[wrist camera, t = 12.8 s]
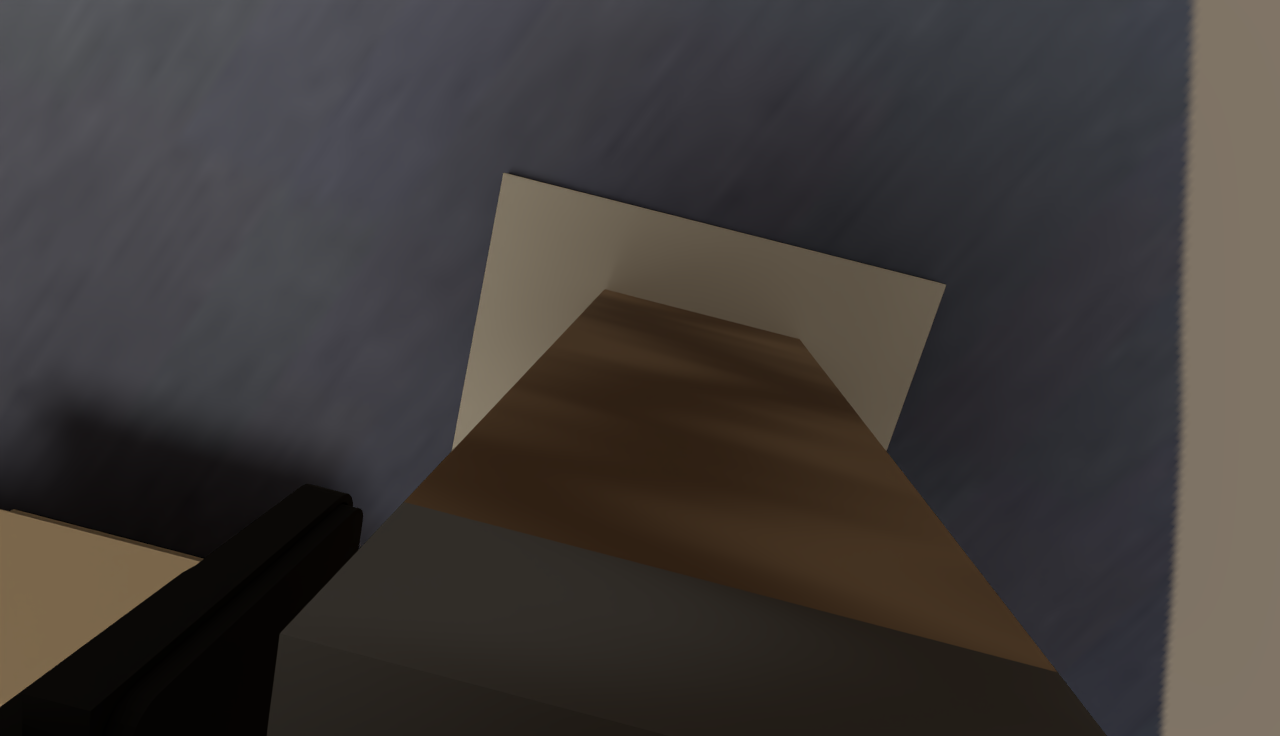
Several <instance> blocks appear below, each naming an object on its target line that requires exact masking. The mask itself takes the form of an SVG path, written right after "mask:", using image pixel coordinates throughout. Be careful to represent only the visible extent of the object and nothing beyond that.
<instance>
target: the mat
mask: <svg viewBox="0 0 1280 736" xmlns="http://www.w3.org/2000/svg"><path fill="white" fill-rule="evenodd" d="M945 287H946V285H945V284H942V283H939V282H935V281H931V280H927V279H923V278H919V277H915V276H911V275H907V274H903V273H899V272H895V271H891V270H887V269H883V268H879V267H875V266H871V265H867V264H863V263H860V262H856V261H852V260H848V259H844V258H840V257H836V256H832V255H828V254H824V253H820V252H816V251H812V250H808V249H804V248H800V247H796V246H792V245H788V244H784V243H780V242H776V241H773V240H769V239H765V238H761V237H757V236H753V235H749V234H745V233H741V232H737V231H733V230H729V229H725V228H721V227H717V226H713V225H709V224H705V223H701V222H697V221H693V220H689V219H685V218H682V217H678V216H674V215H670V214H666V213H662V212H658V211H654V210H650V209H646V208H642V207H638V206H634V205H630V204H626V203H622V202H618V201H614V200H610V199H606V198H602V197H598V196H595V195H591V194H587V193H583V192H579V191H575V190H571V189H567V188H563V187H559V186H555V185H551V184H547V183H543V182H539V181H535V180H531V179H527V178H523V177H519V176H515V175H511V174H507V173H503V178H502V183H501V189H500V194H499V200H498V205H497V210H496V216H495V221H494V226H493V232H492V237H491V243H490V248H489V253H488V259H487V264H486V270H485V275H484V280H483V286H482V291H481V297H480V302H479V307H478V313H477V318H476V324H475V329H474V334H473V340H472V345H471V350H470V356H469V361H468V367H467V372H466V377H465V383H464V388H463V394H462V399H461V404H460V410H459V415H458V421H457V426H456V431H455V437H454V442H453V447H452V450H453V449H454V448H455V447H456V446H457V445H458V444H459V443H460V442H461V441H462V440H463V439H464V438H465V437H466V436H467V435H468V433H469V432H470V431H471V430H472V429H473V428H474V427H475V426H476V425H477V424H478V423H479V422H480V421H481V420H482V419H483V418H484V416H485V415H486V414H487V413H488V412H489V411H490V410H491V409H492V408H493V407H494V406H495V405H496V404H497V403H498V402H499V401H500V400H501V398H502V397H503V396H504V395H505V394H506V393H507V392H508V391H509V390H510V389H511V388H512V387H513V386H514V385H515V384H516V383H517V382H518V380H519V379H520V378H521V377H522V376H523V375H524V374H525V373H526V372H527V371H528V370H529V369H530V368H531V367H532V366H533V365H534V363H535V362H536V361H537V360H538V359H539V358H540V357H541V356H542V355H543V354H544V353H545V352H546V351H547V350H548V349H549V348H550V347H551V345H552V344H553V343H554V342H555V341H556V340H557V339H558V338H559V337H560V336H561V335H562V334H563V333H564V332H565V331H566V330H567V329H568V327H569V326H570V325H571V324H572V323H573V322H574V321H575V320H576V319H577V318H578V317H579V316H580V315H581V314H582V313H583V312H584V310H585V309H586V308H587V307H588V306H589V305H590V304H591V303H592V302H593V301H594V300H595V299H596V298H597V297H598V296H599V295H600V294H601V292H602V291H603V290H604V289H606V290H610V291H614V292H618V293H622V294H626V295H630V296H633V297H637V298H641V299H645V300H649V301H653V302H657V303H661V304H665V305H669V306H672V307H676V308H680V309H684V310H688V311H692V312H696V313H700V314H704V315H707V316H711V317H715V318H719V319H723V320H727V321H731V322H735V323H739V324H743V325H746V326H750V327H754V328H758V329H762V330H766V331H770V332H774V333H778V334H781V335H785V336H789V337H793V338H797V339H800V340H801V342H802V343H803V344H804V346H805V347H806V348H807V349H808V351H809V352H810V353H811V355H812V356H813V357H814V358H815V360H816V361H817V362H818V364H819V365H820V366H821V368H822V369H823V370H824V371H825V373H826V374H827V375H828V377H829V378H830V379H831V380H832V382H833V383H834V384H835V386H836V387H837V388H838V389H839V391H840V392H841V393H842V395H843V396H844V397H845V399H846V400H847V401H848V402H849V404H850V405H851V406H852V408H853V409H854V410H855V411H856V413H857V414H858V415H859V417H860V418H861V419H862V420H863V422H864V423H865V424H866V426H867V427H868V428H869V429H870V431H871V432H872V433H873V435H874V436H875V437H876V439H877V440H878V441H879V442H880V444H881V445H882V446H883V448H884V449H885V450H886V451H887V449H888V446H889V443H890V440H891V437H892V435H893V432H894V429H895V426H896V424H897V421H898V418H899V415H900V412H901V410H902V407H903V404H904V401H905V398H906V396H907V393H908V390H909V387H910V385H911V382H912V379H913V376H914V373H915V371H916V368H917V365H918V362H919V360H920V357H921V354H922V351H923V348H924V346H925V343H926V340H927V337H928V335H929V332H930V329H931V326H932V323H933V321H934V318H935V315H936V312H937V310H938V307H939V304H940V301H941V298H942V296H943V293H944V290H945Z"/></svg>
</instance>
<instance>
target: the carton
mask: <svg viewBox="0 0 1280 736" xmlns="http://www.w3.org/2000/svg"><path fill="white" fill-rule="evenodd" d="M202 560H203V558H200V557H196V556H192V555H188V554H184V553H180V552H177V551H173V550H169V549H165V548H161V547H157V546H153V545H150V544H146V543H142V542H138V541H134V540H130V539H126V538H123V537H119V536H115V535H111V534H107V533H103V532H100V531H96V530H92V529H88V528H84V527H80V526H76V525H73V524H69V523H65V522H61V521H57V520H53V519H49V518H46V517H42V516H38V515H34V514H30V513H26V512H23V511H19V510H15V509H13V510H11V511H6V510H2V509H0V707H1V706H2V705H3V704H5V703H6V702H7V701H9V700H10V699H12V698H13V697H14V696H16V695H17V694H18V693H20V692H21V691H22V690H24V689H25V688H26V687H28V686H29V685H30V684H32V683H33V682H35V681H36V680H37V679H39V678H40V677H41V676H43V675H44V674H45V673H47V672H48V671H49V670H51V669H52V668H54V667H55V666H56V665H58V664H59V663H60V662H62V661H63V660H64V659H66V658H67V657H68V656H70V655H71V654H73V653H74V652H75V651H77V650H78V649H79V648H81V647H82V646H83V645H85V644H86V643H87V642H89V641H90V640H91V639H93V638H94V637H96V636H97V635H98V634H100V633H101V632H102V631H104V630H105V629H106V628H108V627H109V626H110V625H112V624H113V623H115V622H116V621H117V620H119V619H120V618H121V617H123V616H124V615H125V614H127V613H128V612H129V611H131V610H132V609H133V608H135V607H136V606H138V605H139V604H140V603H142V602H143V601H144V600H146V599H147V598H148V597H150V596H151V595H152V594H154V593H155V592H157V591H158V590H159V589H161V588H162V587H163V586H165V585H166V584H167V583H169V582H170V581H171V580H173V579H174V578H176V577H177V576H178V575H180V574H181V573H182V572H184V571H186V570H188V569H189V568H191V567H193V566H195V565H196V564H198V563H199V562H200V561H202Z"/></svg>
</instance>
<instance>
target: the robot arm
mask: <svg viewBox="0 0 1280 736" xmlns="http://www.w3.org/2000/svg"><path fill="white" fill-rule="evenodd" d="M362 521H363V513H362V510H361V509H359V508H356V507H353V502H352V497H351V496H350V495H349V494H346V493H342V492H338V491H334V490H331V489H327V488H323V487H319V486H315V485H311V484H305V485H303V486H301V487H300V488H299V489H297V490H296V491H295V492H293V493H292V494H291V495H289V496H288V497H287V498H285V499H284V500H282V501H281V502H280V503H278V504H277V505H276V506H274V507H273V508H272V509H270V510H269V511H268V512H266V513H265V514H264V515H262V516H261V517H260V518H258V519H257V520H256V521H254V522H253V523H251V524H250V525H249V526H247V527H246V528H245V529H243V530H242V531H241V532H239V533H238V534H237V535H235V536H234V537H233V538H231V539H230V540H229V541H227V542H226V543H225V544H223V545H222V546H221V547H219V548H218V549H216V550H215V551H214V552H212V553H211V554H210V555H208V556H207V557H206V558H204V559H203V560H202V561H200V562H199V563H198V564H196V565H195V566H193V567H191V568H189V569H188V570H186V571H184V572H182V573H181V574H180V575H178V576H177V577H176V578H174V579H173V580H171V581H170V582H169V583H167V584H166V585H165V586H163V587H162V588H161V589H159V590H158V591H157V592H155V593H154V594H152V595H151V596H150V597H148V598H147V599H146V600H144V601H143V602H142V603H140V604H139V605H138V606H136V607H135V608H133V609H132V610H131V611H129V612H128V613H127V614H125V615H124V616H123V617H121V618H120V619H119V620H117V621H116V622H115V623H113V624H112V625H110V626H109V627H108V628H106V629H105V630H104V631H102V632H101V633H100V634H98V635H97V636H96V637H94V638H93V639H91V640H90V641H89V642H87V643H86V644H85V645H83V646H82V647H81V648H79V649H78V650H77V651H75V652H74V653H73V654H71V655H70V656H68V657H67V658H66V659H64V660H63V661H62V662H60V663H59V664H58V665H56V666H55V667H54V668H52V669H51V670H49V671H48V672H47V673H45V674H44V675H43V676H41V677H40V678H39V679H37V680H36V681H35V682H33V683H32V684H30V685H29V686H28V687H26V688H25V689H24V690H22V691H21V692H20V693H18V694H17V695H16V696H14V697H13V698H12V699H10V700H9V701H7V702H6V703H5V704H3V705H2V706H1V707H0V736H267V729H268V721H269V713H270V705H271V698H272V690H273V682H274V674H275V667H276V659H277V651H278V643H279V636H280V633H281V632H282V631H283V630H284V629H285V627H286V626H287V625H288V624H289V623H290V622H291V621H292V620H293V619H294V618H295V617H296V616H297V615H298V614H299V613H300V612H301V610H302V609H303V608H304V607H305V606H306V605H307V604H308V603H309V602H310V601H311V600H312V599H313V598H314V597H315V596H316V595H317V594H318V592H319V591H320V590H321V589H322V588H323V587H324V586H325V585H326V584H327V583H328V582H329V581H330V580H331V579H332V578H333V577H334V576H335V574H336V573H337V572H338V571H339V570H340V569H341V568H342V567H343V566H344V565H345V564H346V563H347V562H348V561H349V560H350V559H351V557H352V556H353V555H354V554H355V553H356V552H357V551H358V547H359V541H360V534H361V528H362Z"/></svg>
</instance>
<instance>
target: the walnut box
mask: <svg viewBox="0 0 1280 736" xmlns="http://www.w3.org/2000/svg"><path fill="white" fill-rule="evenodd" d="M267 736H1107V735H1106V734H1105V733H1104V732H1103V730H1102V729H1101V728H1100V726H1099V725H1098V724H1097V723H1096V721H1095V720H1094V719H1093V717H1092V716H1091V715H1090V714H1089V712H1088V711H1087V710H1086V708H1085V707H1084V706H1083V704H1082V703H1081V702H1080V701H1079V699H1078V698H1077V697H1076V695H1075V694H1074V693H1073V692H1072V690H1071V689H1070V688H1069V686H1068V685H1067V684H1066V683H1065V681H1064V680H1063V679H1062V677H1061V676H1060V675H1059V673H1058V672H1057V671H1056V670H1055V668H1054V667H1053V666H1052V664H1051V663H1050V662H1049V661H1048V659H1047V658H1046V657H1045V655H1044V654H1043V653H1042V652H1041V650H1040V649H1039V648H1038V646H1037V645H1036V644H1035V643H1034V641H1033V640H1032V639H1031V637H1030V636H1029V635H1028V633H1027V632H1026V631H1025V630H1024V628H1023V627H1022V626H1021V624H1020V623H1019V622H1018V621H1017V619H1016V618H1015V617H1014V615H1013V614H1012V613H1011V612H1010V610H1009V609H1008V608H1007V606H1006V605H1005V604H1004V602H1003V601H1002V600H1001V599H1000V597H999V596H998V595H997V593H996V592H995V591H994V590H993V588H992V587H991V586H990V584H989V583H988V582H987V581H986V579H985V578H984V577H983V575H982V574H981V573H980V572H979V570H978V569H977V568H976V566H975V565H974V564H973V562H972V561H971V560H970V559H969V557H968V556H967V555H966V553H965V552H964V551H963V550H962V548H961V547H960V546H959V544H958V543H957V542H956V541H955V539H954V538H953V537H952V535H951V534H950V533H949V531H948V530H947V529H946V528H945V526H944V525H943V524H942V522H941V521H940V520H939V519H938V517H937V516H936V515H935V513H934V512H933V511H932V510H931V508H930V507H929V506H928V504H927V503H926V502H925V500H924V499H923V498H922V497H921V495H920V494H919V493H918V491H917V490H916V489H915V488H914V486H913V485H912V484H911V482H910V481H909V480H908V479H907V477H906V476H905V475H904V473H903V472H902V471H901V470H900V468H899V467H898V466H897V464H896V463H895V462H894V460H893V459H892V458H891V457H890V455H889V454H888V453H887V451H886V450H885V449H884V448H883V446H882V445H881V444H880V442H879V441H878V440H877V439H876V437H875V436H874V435H873V433H872V432H871V431H870V429H869V428H868V427H867V426H866V424H865V423H864V422H863V420H862V419H861V418H860V417H859V415H858V414H857V413H856V411H855V410H854V409H853V408H852V406H851V405H850V404H849V402H848V401H847V400H846V399H845V397H844V396H843V395H842V393H841V392H840V391H839V389H838V388H837V387H836V386H835V384H834V383H833V382H832V380H831V379H830V378H829V377H828V375H827V374H826V373H825V371H824V370H823V369H822V368H821V366H820V365H819V364H818V362H817V361H816V360H815V358H814V357H813V356H812V355H811V353H810V352H809V351H808V349H807V348H806V347H805V346H804V344H803V343H802V342H801V340H800V339H797V338H793V337H789V336H785V335H781V334H778V333H774V332H770V331H766V330H762V329H758V328H754V327H750V326H746V325H743V324H739V323H735V322H731V321H727V320H723V319H719V318H715V317H711V316H707V315H704V314H700V313H696V312H692V311H688V310H684V309H680V308H676V307H672V306H669V305H665V304H661V303H657V302H653V301H649V300H645V299H641V298H637V297H633V296H630V295H626V294H622V293H618V292H614V291H610V290H606V289H604V290H603V291H602V292H601V294H600V295H599V296H598V297H597V298H596V299H595V300H594V301H593V302H592V303H591V304H590V305H589V306H588V307H587V308H586V309H585V310H584V312H583V313H582V314H581V315H580V316H579V317H578V318H577V319H576V320H575V321H574V322H573V323H572V324H571V325H570V326H569V327H568V329H567V330H566V331H565V332H564V333H563V334H562V335H561V336H560V337H559V338H558V339H557V340H556V341H555V342H554V343H553V344H552V345H551V347H550V348H549V349H548V350H547V351H546V352H545V353H544V354H543V355H542V356H541V357H540V358H539V359H538V360H537V361H536V362H535V363H534V365H533V366H532V367H531V368H530V369H529V370H528V371H527V372H526V373H525V374H524V375H523V376H522V377H521V378H520V379H519V380H518V382H517V383H516V384H515V385H514V386H513V387H512V388H511V389H510V390H509V391H508V392H507V393H506V394H505V395H504V396H503V397H502V398H501V400H500V401H499V402H498V403H497V404H496V405H495V406H494V407H493V408H492V409H491V410H490V411H489V412H488V413H487V414H486V415H485V416H484V418H483V419H482V420H481V421H480V422H479V423H478V424H477V425H476V426H475V427H474V428H473V429H472V430H471V431H470V432H469V433H468V435H467V436H466V437H465V438H464V439H463V440H462V441H461V442H460V443H459V444H458V445H457V446H456V447H455V448H454V449H453V450H452V451H451V453H450V454H449V455H448V456H447V457H446V458H445V459H444V460H443V461H442V462H441V463H440V464H439V465H438V466H437V467H436V468H435V470H434V471H433V472H432V473H431V474H430V475H429V476H428V477H427V478H426V479H425V480H424V481H423V482H422V483H421V484H420V485H419V486H418V488H417V489H416V490H415V491H414V492H413V493H412V494H411V495H410V496H409V497H408V498H407V499H406V500H405V501H404V502H403V503H402V504H401V506H400V507H399V508H398V509H397V510H396V511H395V512H394V513H393V514H392V515H391V516H390V517H389V518H388V519H387V520H386V521H385V523H384V524H383V525H382V526H381V527H380V528H379V529H378V530H377V531H376V532H375V533H374V534H373V535H372V536H371V537H370V538H369V539H368V541H367V542H366V543H365V544H364V545H363V546H362V547H361V548H360V549H359V550H358V551H357V552H356V553H355V554H354V555H353V556H352V557H351V559H350V560H349V561H348V562H347V563H346V564H345V565H344V566H343V567H342V568H341V569H340V570H339V571H338V572H337V573H336V574H335V576H334V577H333V578H332V579H331V580H330V581H329V582H328V583H327V584H326V585H325V586H324V587H323V588H322V589H321V590H320V591H319V592H318V594H317V595H316V596H315V597H314V598H313V599H312V600H311V601H310V602H309V603H308V604H307V605H306V606H305V607H304V608H303V609H302V610H301V612H300V613H299V614H298V615H297V616H296V617H295V618H294V619H293V620H292V621H291V622H290V623H289V624H288V625H287V626H286V627H285V629H284V630H283V631H282V632H281V633H280V636H279V643H278V651H277V659H276V667H275V674H274V682H273V690H272V698H271V705H270V713H269V721H268V729H267Z"/></svg>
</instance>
